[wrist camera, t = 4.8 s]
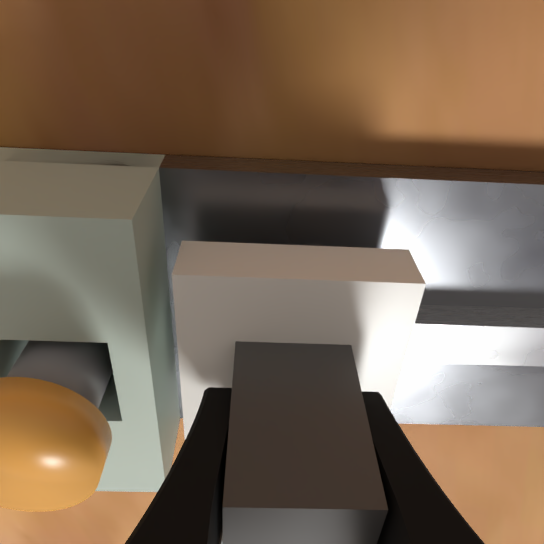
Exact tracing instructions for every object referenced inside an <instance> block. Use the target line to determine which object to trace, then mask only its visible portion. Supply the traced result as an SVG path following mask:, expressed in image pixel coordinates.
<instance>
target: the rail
mask: <svg viewBox="0 0 544 544" xmlns="http://www.w3.org/2000/svg"><path fill="white" fill-rule="evenodd" d="M82 161H83V160H82ZM121 161H122V160H121ZM110 162H111V161H110ZM110 162H109V163H110ZM112 162H113V161H112ZM98 163H99V162H98ZM98 163H97V164H98ZM107 163H108V162H107ZM118 163H119V164H120V166H122V165H121V163H122V162H121V163H120V162H119V161H118ZM124 163H125V162H124ZM124 163H122V164H123V165H125V164H124ZM77 164H78V163H77ZM81 164H82V163H81ZM93 164H94V163H93ZM110 164H113V163H110ZM110 164H109V165H110ZM114 164H116V163H115V162H114ZM90 165H91V164H90ZM99 165H100V164H99ZM102 165H105V164H102ZM111 166H114V165H111ZM116 166H118V165H116ZM125 166H127V165H125ZM159 175H160V187H161V198H162V210H163V222H164V234H165V245H166V257H167V269H168V281H169V292H170V304H171V316H172V327H173V339H174V351H175V363H176V374H177V386H178V398H179V410H180V418H183V410H182V397H181V385H180V372H179V360H178V347H177V335H176V322H175V310H174V297H173V285H172V272H173V269H174V265H175V262H176V259H177V255H178V252H179V249H180V245H181V242H182V241H205V242H231V243H256V244H282V245H308V246H334V247H360V248H386V249H409V251H410V253H411V255H412V257H413V259H414V261H415V263H416V265H417V267H418V269H419V271H420V273H421V275H422V277H423V279H424V281H425V283H426V286H425V289H424V293H423V296H422V300H421V303H420V307H419V310H418V314H417V317H416V321H415V324H414V328H413V331H412V335H411V339H410V342H409V346H408V349H407V353H406V356H405V360H404V363H403V367H402V370H401V374H400V377H399V381H398V384H397V388H396V391H395V395H394V398H393V402H392V405H391V409H390V411H391V413H392V414H393V416H394V418H395V420H396V421H397V423H405V424H447V425H488V426H529V427H544V172H534V171H512V170H490V169H468V168H446V167H424V166H402V165H380V164H358V163H336V162H315V161H293V160H271V159H249V158H227V157H205V156H183V155H165V157H164V159H163V161H162V163H161V165H160V166H159Z"/></svg>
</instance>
